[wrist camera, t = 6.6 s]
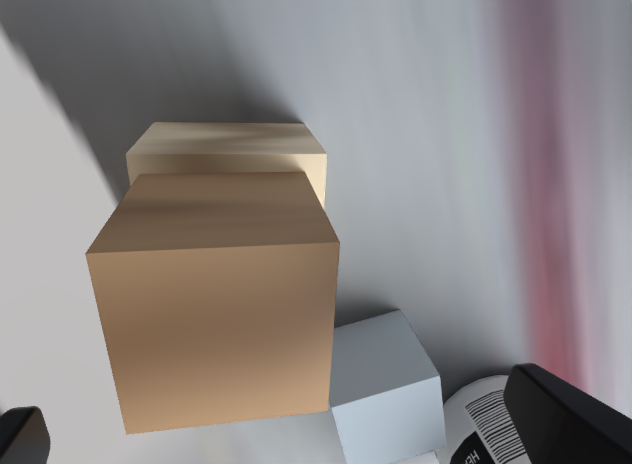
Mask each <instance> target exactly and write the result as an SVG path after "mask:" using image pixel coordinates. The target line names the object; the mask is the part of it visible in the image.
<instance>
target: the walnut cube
mask: <svg viewBox="0 0 632 464" xmlns="http://www.w3.org/2000/svg"><path fill="white" fill-rule="evenodd" d="M339 247H340V242H339V240H338V238H337V236H336V234H335V231H334V229H333V227H332V225H331V223H330V221H329V219H328V217H327V215H326V213H325V211H324V209H323V207H322V205H321V203H320V201H319V199H318V197H317V195H316V193H315V191H314V189H313V187H312V185H311V183H310V181H309V179H308V177H307V175H306V173H305V172H248V173H179V174H139V175H138V177H137V178H136V180H135V181H134V183H133V184H132V186H131V187H130V188H129V190H128V191H127V193H126V194H125V196H124V197H123V199H122V200H121V202H120V203H119V205H118V206H117V208H116V209H115V211H114V212H113V214H112V215H111V217H110V218H109V219H108V221H107V222H106V224H105V226H104V227H103V228H102V230H101V231H100V233H99V234H98V236H97V237H96V239H95V240H94V242H93V243H92V245H91V246H90V248H89V249H88V251H87V252H86V258H87V263H88V267H89V271H90V276H91V280H92V285H93V289H94V293H95V298H96V302H97V307H98V311H99V316H100V320H101V324H102V329H103V333H104V337H105V342H106V347H107V351H108V355H109V359H110V364H111V368H112V373H113V377H114V381H115V386H116V390H117V395H118V400H119V404H120V408H121V413H122V417H123V422H124V426H125V430H126V434H135V433H144V432H153V431H160V430H170V429H179V428H187V427H196V426H204V425H213V424H222V423H230V422H239V421H248V420H256V419H265V418H273V417H282V416H291V415H299V414H308V413H316V412H325V411H328V401H329V387H330V373H331V359H332V345H333V331H334V317H335V303H336V289H337V275H338V261H339Z"/></svg>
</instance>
